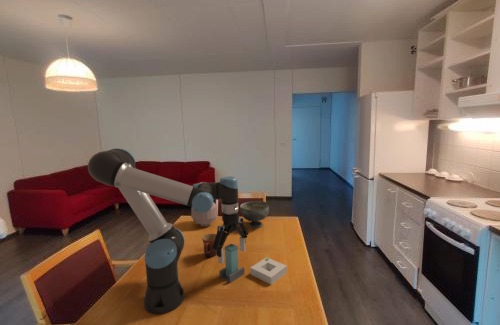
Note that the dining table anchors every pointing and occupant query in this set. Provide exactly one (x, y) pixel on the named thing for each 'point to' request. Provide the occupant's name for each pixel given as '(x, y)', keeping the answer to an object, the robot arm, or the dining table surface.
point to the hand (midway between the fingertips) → (232, 256)
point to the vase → (204, 215)
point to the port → (265, 275)
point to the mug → (209, 245)
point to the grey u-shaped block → (232, 276)
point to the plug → (231, 259)
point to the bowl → (254, 212)
